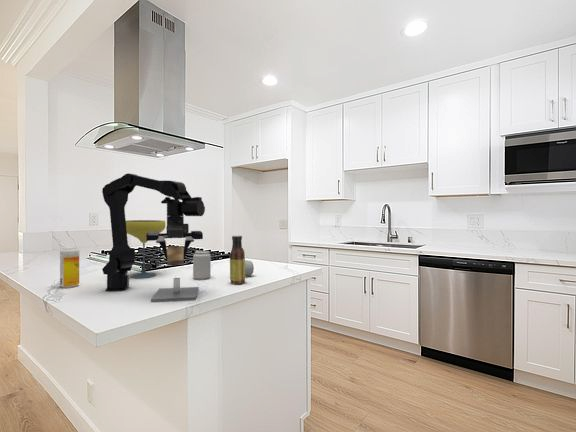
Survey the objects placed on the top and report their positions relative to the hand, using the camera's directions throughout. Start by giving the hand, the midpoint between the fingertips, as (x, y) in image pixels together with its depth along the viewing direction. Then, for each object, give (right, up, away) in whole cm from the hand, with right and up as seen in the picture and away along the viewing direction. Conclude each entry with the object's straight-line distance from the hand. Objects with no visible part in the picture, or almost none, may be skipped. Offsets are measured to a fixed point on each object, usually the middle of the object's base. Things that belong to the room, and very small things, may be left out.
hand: (175, 259), depth 110 cm
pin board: (+1, -12, -2) cm, 13 cm away
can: (+2, -12, +26) cm, 29 cm away
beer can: (-44, -12, +8) cm, 46 cm away
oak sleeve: (0, -2, 0) cm, 2 cm away
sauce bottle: (+20, -13, +17) cm, 29 cm away
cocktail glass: (-25, -12, +29) cm, 40 cm away
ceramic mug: (+19, -12, +32) cm, 39 cm away
